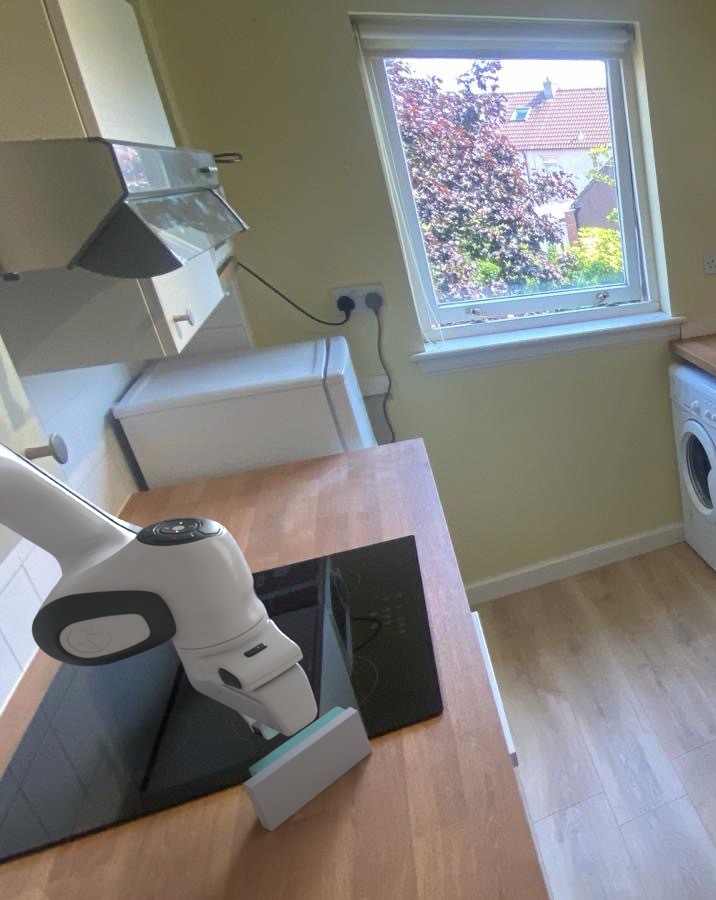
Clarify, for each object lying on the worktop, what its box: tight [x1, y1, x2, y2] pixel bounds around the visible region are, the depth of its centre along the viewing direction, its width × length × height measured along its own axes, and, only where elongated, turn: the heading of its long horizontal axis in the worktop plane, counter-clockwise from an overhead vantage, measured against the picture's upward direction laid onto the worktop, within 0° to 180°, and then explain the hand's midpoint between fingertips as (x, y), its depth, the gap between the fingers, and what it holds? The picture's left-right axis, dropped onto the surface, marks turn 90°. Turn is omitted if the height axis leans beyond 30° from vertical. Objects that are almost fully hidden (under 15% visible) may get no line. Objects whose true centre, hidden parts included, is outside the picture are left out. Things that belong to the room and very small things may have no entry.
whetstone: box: [242, 706, 373, 832], centre depth 90 cm, size 13×5×7 cm, turn 154°
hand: (267, 732), depth 92 cm, fingers closed
